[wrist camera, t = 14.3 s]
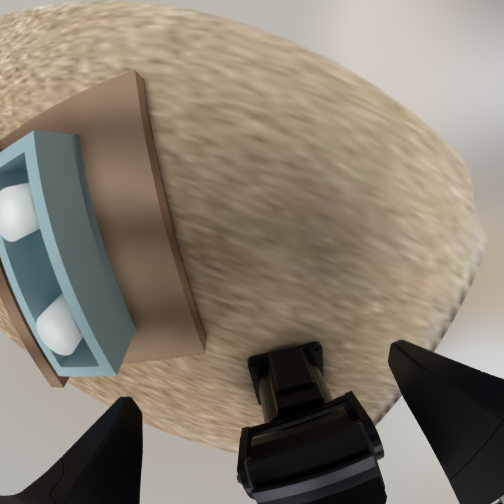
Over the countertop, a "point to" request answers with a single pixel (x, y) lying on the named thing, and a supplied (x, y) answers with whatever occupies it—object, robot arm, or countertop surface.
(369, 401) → the countertop surface
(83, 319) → the tray
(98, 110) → the walnut shelf
